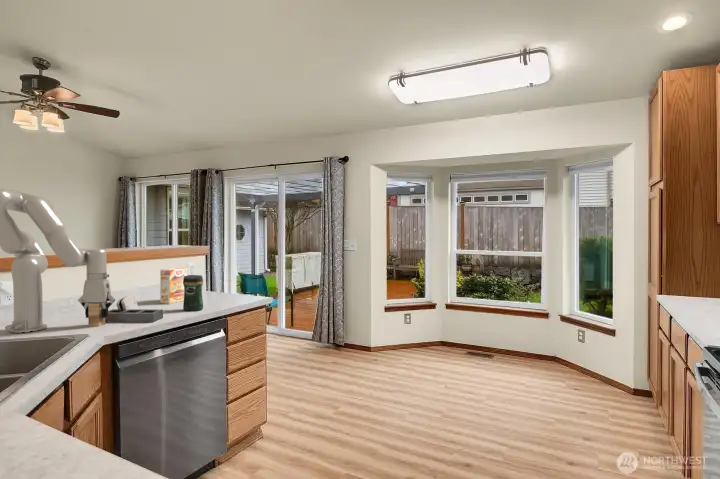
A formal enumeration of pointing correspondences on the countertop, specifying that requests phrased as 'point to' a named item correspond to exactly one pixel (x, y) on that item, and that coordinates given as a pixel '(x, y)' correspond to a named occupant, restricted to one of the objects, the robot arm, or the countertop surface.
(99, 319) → the peg
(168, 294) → the coffeecake box
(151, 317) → the rail
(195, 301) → the coffee jar
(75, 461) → the countertop surface
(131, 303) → the hinge
